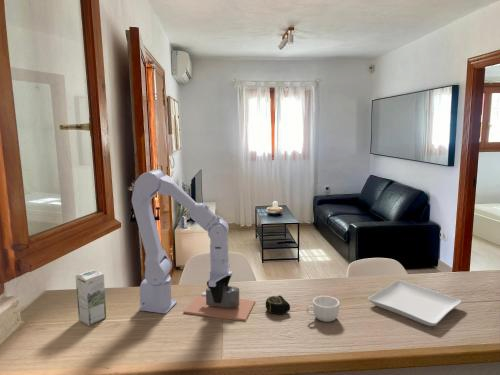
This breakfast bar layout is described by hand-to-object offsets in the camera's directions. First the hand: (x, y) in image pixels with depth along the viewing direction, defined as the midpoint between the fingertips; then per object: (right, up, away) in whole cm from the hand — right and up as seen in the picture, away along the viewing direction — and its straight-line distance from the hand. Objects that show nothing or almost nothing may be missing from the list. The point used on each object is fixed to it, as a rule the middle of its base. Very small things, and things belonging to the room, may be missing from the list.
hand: (220, 298), depth 114 cm
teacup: (+31, -4, -6) cm, 32 cm away
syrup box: (-38, -4, -6) cm, 39 cm away
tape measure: (+18, -4, -1) cm, 19 cm away
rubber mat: (0, -3, 0) cm, 3 cm away
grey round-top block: (0, -1, 0) cm, 1 cm away
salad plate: (+62, -3, 0) cm, 62 cm away
